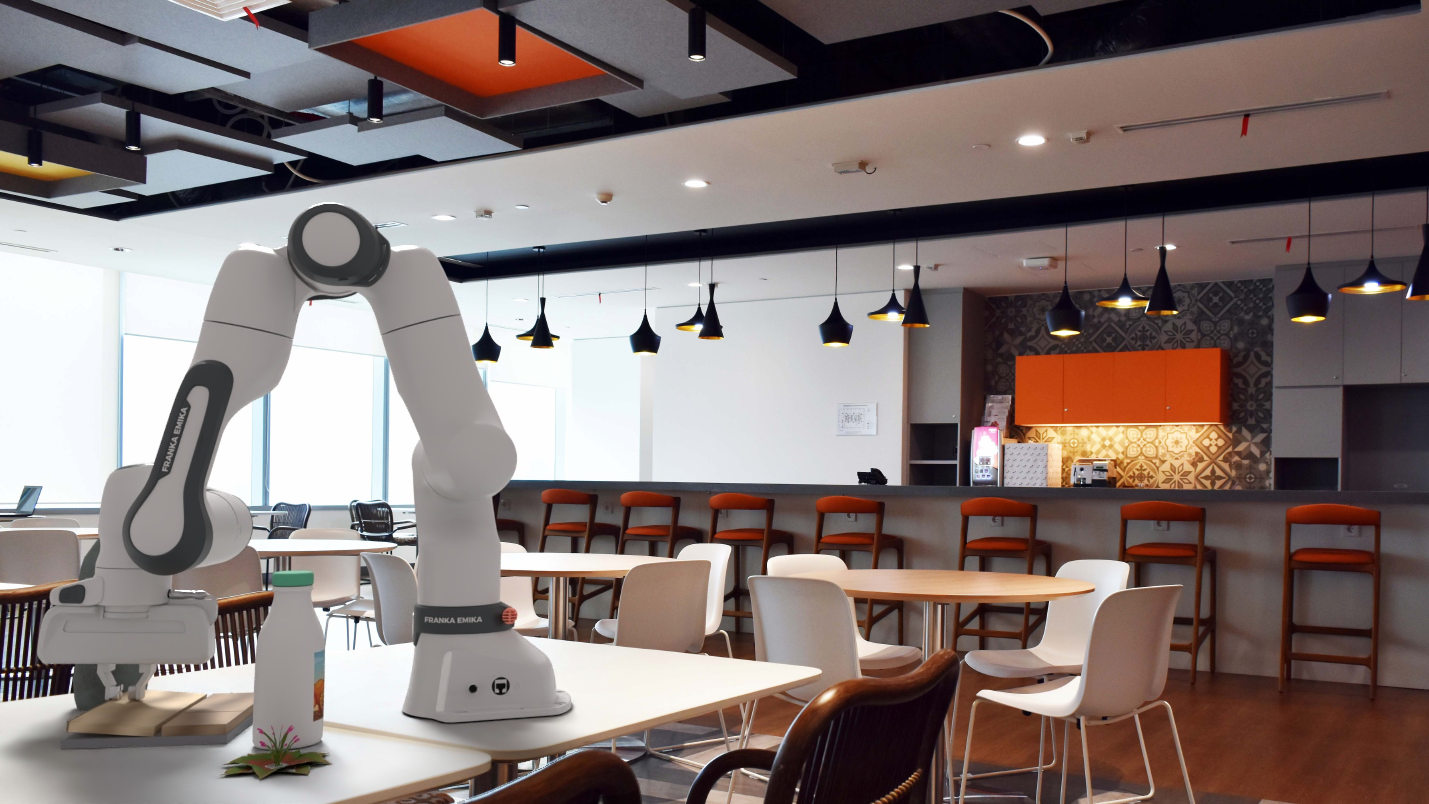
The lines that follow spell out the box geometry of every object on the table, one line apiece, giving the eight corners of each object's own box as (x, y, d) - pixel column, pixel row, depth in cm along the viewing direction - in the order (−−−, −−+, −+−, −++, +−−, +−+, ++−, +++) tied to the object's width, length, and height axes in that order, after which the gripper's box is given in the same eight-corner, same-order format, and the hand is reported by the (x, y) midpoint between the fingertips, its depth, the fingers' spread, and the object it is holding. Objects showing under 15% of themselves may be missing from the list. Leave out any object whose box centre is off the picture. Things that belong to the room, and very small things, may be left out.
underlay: (270, 708, 144) (270, 700, 145) (227, 743, 125) (227, 734, 125) (127, 712, 142) (128, 704, 142) (60, 749, 122) (60, 740, 122)
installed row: (268, 701, 144) (268, 691, 144) (226, 734, 125) (226, 723, 125) (213, 702, 143) (213, 693, 143) (161, 736, 124) (161, 725, 124)
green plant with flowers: (347, 755, 122) (348, 714, 122) (319, 783, 110) (321, 738, 110) (238, 757, 120) (239, 715, 121) (197, 786, 108) (200, 740, 109)
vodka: (54, 710, 143) (65, 486, 145) (112, 697, 152) (122, 486, 154) (108, 714, 140) (118, 486, 142) (164, 701, 149) (173, 486, 151)
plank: (205, 702, 143) (207, 693, 143) (153, 736, 124) (154, 726, 124) (130, 697, 142) (132, 688, 142) (65, 731, 122) (67, 720, 122)
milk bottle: (298, 753, 120) (304, 574, 122) (237, 749, 122) (243, 573, 123) (335, 737, 128) (340, 569, 129) (277, 734, 129) (283, 568, 131)
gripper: (226, 588, 141) (219, 694, 140) (58, 585, 138) (50, 694, 137) (211, 592, 135) (204, 704, 134) (36, 590, 132) (26, 704, 130)
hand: (124, 699), depth 135 cm, fingers closed
